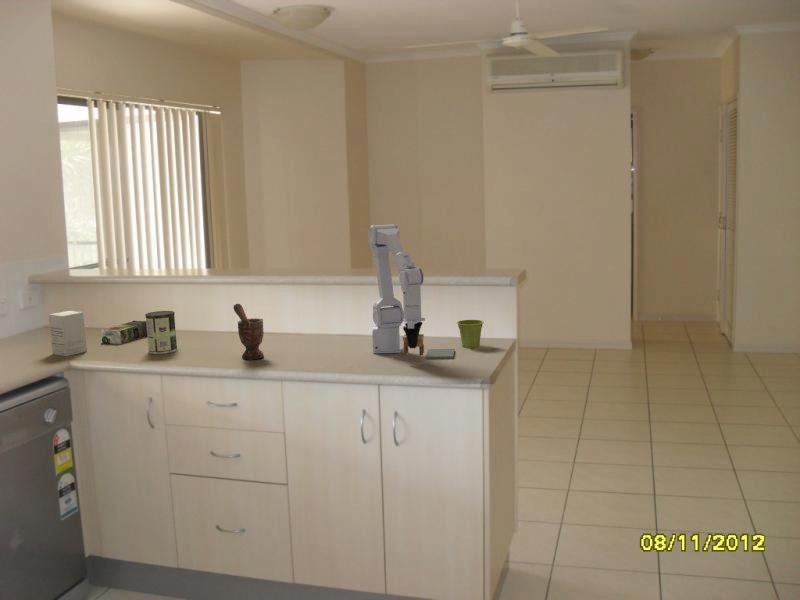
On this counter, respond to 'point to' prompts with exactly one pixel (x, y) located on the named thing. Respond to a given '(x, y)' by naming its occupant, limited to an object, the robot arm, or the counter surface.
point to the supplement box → (67, 333)
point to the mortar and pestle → (249, 334)
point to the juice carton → (124, 332)
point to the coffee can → (161, 332)
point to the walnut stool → (419, 344)
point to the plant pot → (470, 332)
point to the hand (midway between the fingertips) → (413, 346)
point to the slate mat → (440, 354)
